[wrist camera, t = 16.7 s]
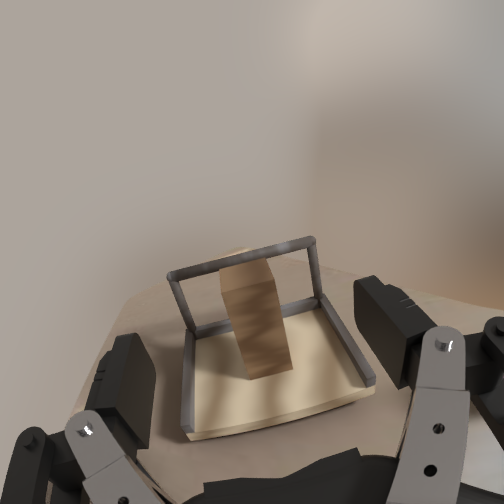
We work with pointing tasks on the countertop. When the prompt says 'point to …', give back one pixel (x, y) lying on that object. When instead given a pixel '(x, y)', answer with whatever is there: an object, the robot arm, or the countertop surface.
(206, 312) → the countertop surface
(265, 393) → the cart
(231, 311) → the walnut block
